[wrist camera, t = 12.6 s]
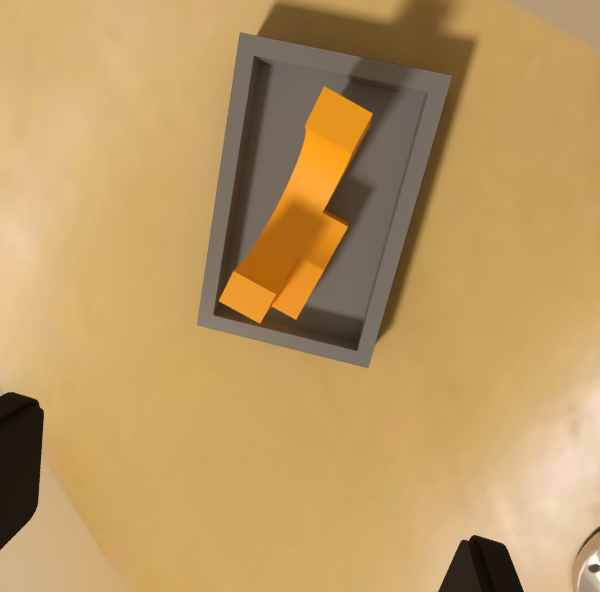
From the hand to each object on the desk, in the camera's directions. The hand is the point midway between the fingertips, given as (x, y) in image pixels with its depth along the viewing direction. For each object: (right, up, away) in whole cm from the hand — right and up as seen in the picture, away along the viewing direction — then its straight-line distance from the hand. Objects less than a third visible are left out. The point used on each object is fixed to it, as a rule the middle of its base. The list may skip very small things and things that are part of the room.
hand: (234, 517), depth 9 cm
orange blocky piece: (+3, +10, +19) cm, 21 cm away
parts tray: (+2, +10, +19) cm, 22 cm away
